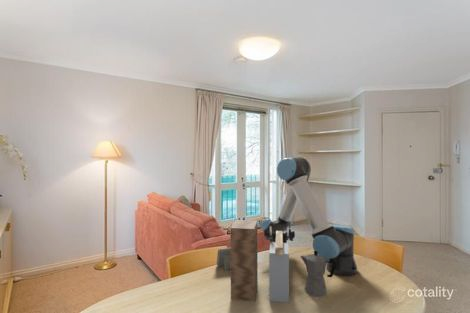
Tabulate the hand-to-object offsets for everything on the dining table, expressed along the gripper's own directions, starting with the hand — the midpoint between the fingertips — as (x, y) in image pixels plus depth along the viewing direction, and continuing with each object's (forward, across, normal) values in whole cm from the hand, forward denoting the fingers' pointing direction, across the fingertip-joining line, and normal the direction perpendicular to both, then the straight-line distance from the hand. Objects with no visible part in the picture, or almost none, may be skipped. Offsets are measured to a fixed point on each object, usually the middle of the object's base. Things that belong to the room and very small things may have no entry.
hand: (279, 229), depth 128 cm
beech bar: (+1, 0, -7) cm, 7 cm away
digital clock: (-28, +26, -14) cm, 41 cm away
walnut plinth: (-5, +15, -27) cm, 31 cm away
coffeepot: (-10, -17, -24) cm, 31 cm away
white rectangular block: (-6, 0, -26) cm, 27 cm away
